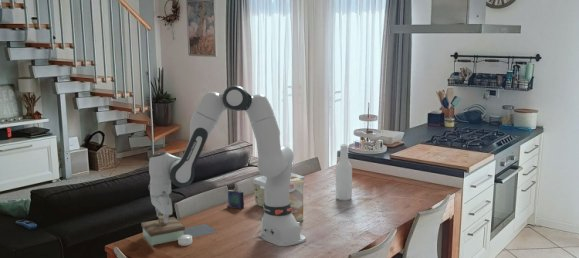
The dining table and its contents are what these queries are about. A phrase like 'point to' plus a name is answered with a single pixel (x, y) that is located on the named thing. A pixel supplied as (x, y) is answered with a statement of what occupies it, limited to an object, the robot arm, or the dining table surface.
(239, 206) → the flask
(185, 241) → the white rounded piece
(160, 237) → the dish
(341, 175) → the alcohol
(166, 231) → the lid
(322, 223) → the dining table surface
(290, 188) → the coffeecake box
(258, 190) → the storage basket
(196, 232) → the trivet
